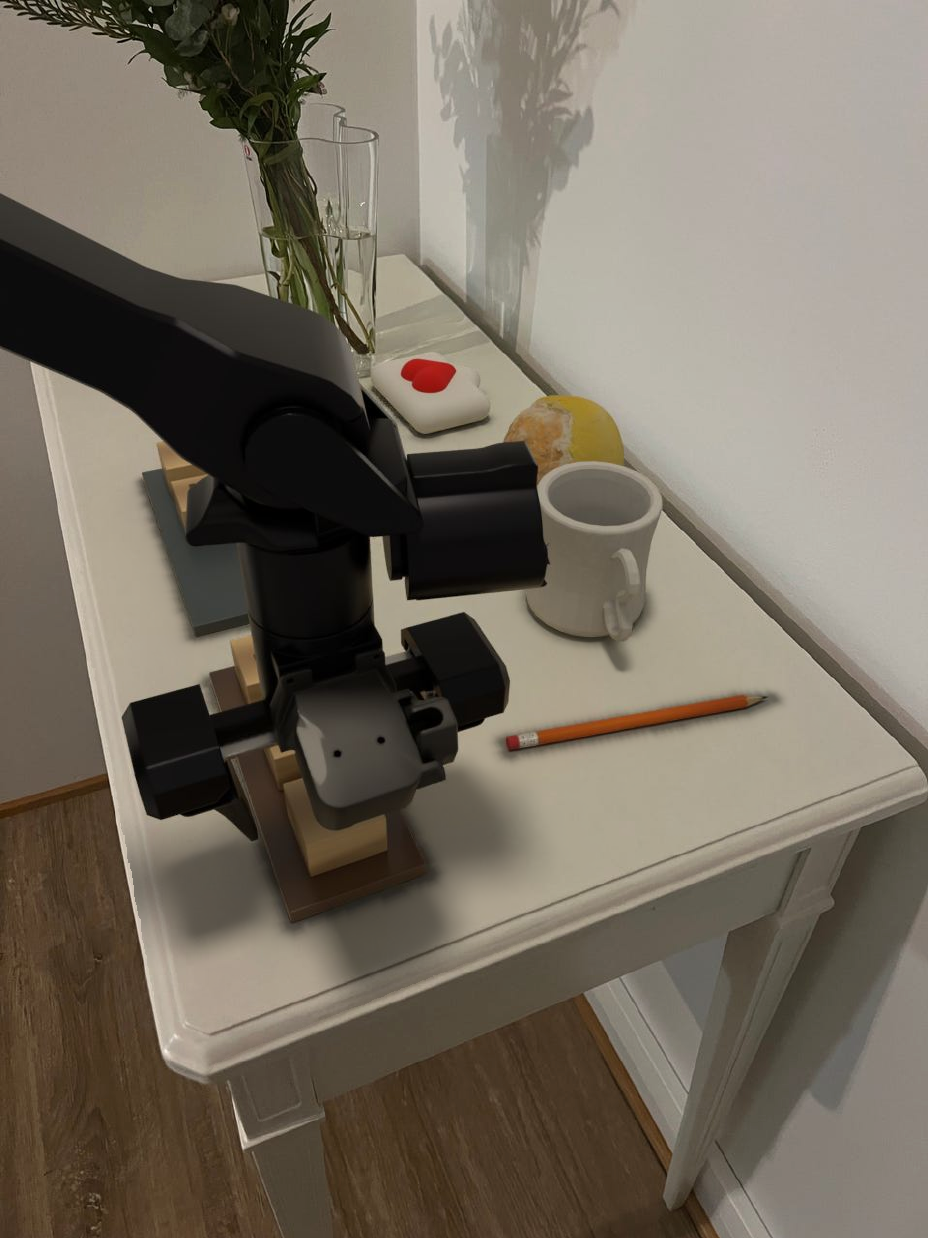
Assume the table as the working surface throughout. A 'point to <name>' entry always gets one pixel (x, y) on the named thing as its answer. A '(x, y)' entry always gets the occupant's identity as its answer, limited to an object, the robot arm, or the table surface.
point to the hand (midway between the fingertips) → (333, 808)
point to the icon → (431, 391)
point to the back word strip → (195, 550)
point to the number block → (330, 834)
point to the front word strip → (269, 804)
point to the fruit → (567, 433)
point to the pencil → (630, 721)
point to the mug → (595, 548)
